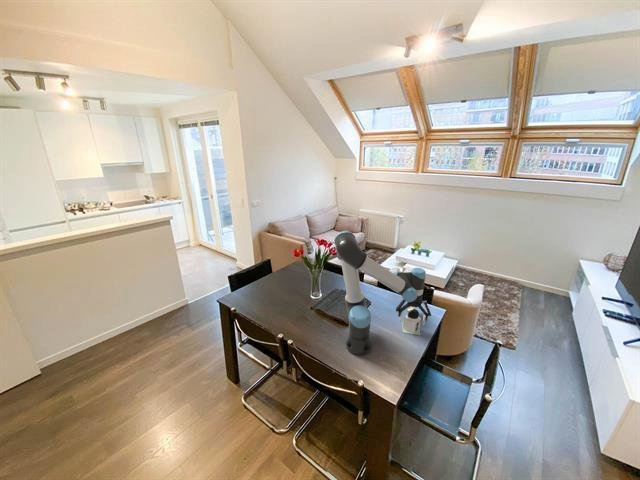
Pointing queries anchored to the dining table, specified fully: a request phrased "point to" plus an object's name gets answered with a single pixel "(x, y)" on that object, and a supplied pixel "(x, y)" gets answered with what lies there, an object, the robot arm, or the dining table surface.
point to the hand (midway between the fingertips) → (411, 322)
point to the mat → (410, 332)
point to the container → (412, 321)
